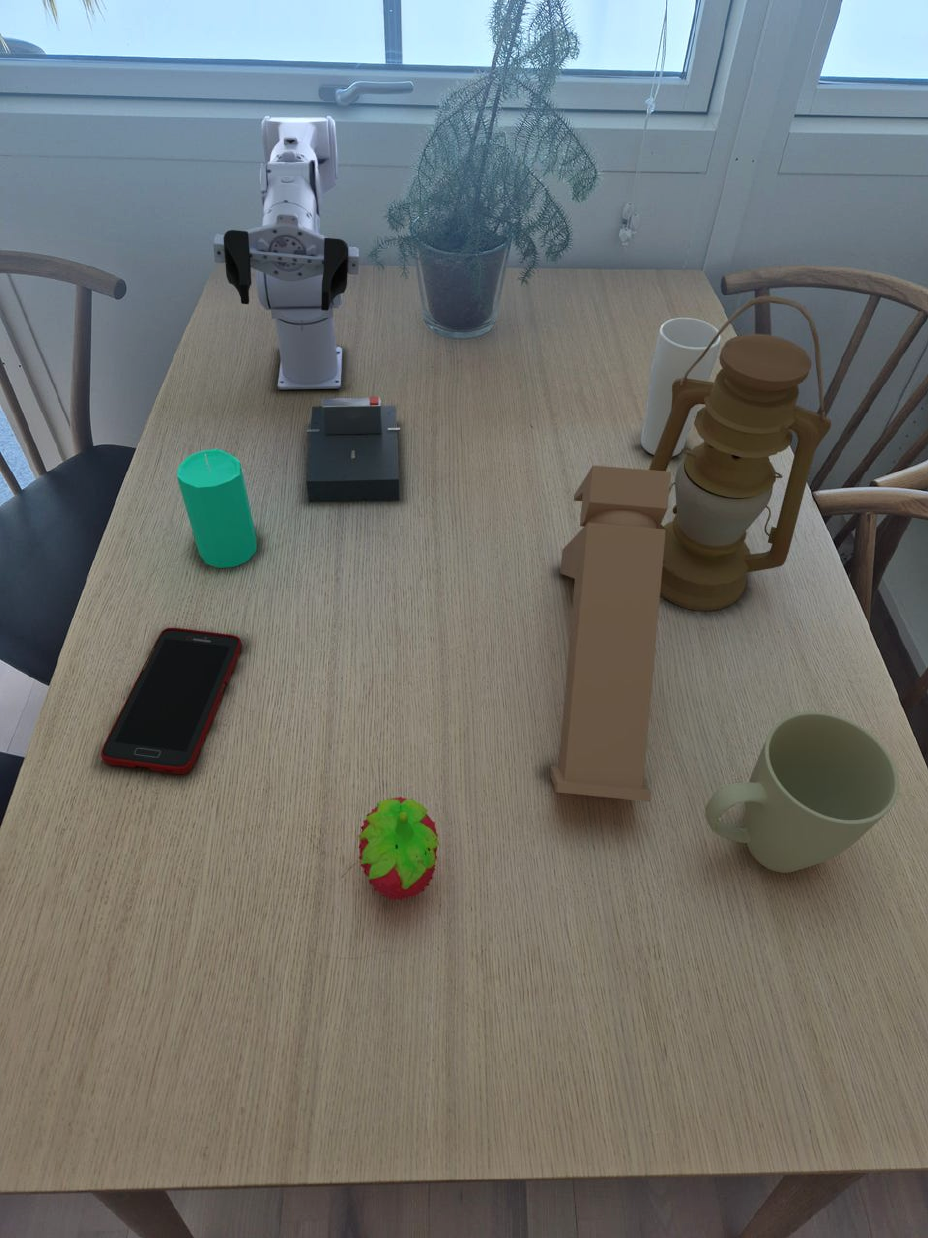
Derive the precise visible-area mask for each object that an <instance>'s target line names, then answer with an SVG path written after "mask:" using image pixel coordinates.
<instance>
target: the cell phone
mask: <svg viewBox="0 0 928 1238" xmlns="http://www.w3.org/2000/svg"><path fill="white" fill-rule="evenodd" d="M242 646H243V644H242V640H241V638H240V637H239V636H237V635H233V634H229V633H228V634H227V633H220V632H212V631H206V630H205V631H204V630H197V629H189V628H182V627H167V628H165V629H163V630H162V631H161V632H160V634H159V636H158V637H157V639H156V640H155V643H154V645H153V646H152V649H151V651H150V652H149V654H148V657H147V658H146V661H145V663H144V664H143V666H142V668H141V670H140V672H139V674H138V676H137V678H136V679H135V682H134V684H133V686H132V687H131V690H130V692H129V693H128V696H127V698H126V700H125V701H124V704H123V706H122V708H121V710H120V711H119V714H118V715H117V718H116V720H115V721H114V723H113V726H112V728H111V729H110V732H109V733H108V736H107V738H106V739H105V742H104V744H103V747H102V749H101V752H100V753H101V754H100V757H101V758H102V761H103V762H104V763H106V764H108V765H112V766H118V767H122V766H125V767H126V768H131V769H132V768H133V769H136V768H137V767H144V768H148V769H149V771H155V772H161V773H168V774H176V775H181V774H183V775H184V774H187V773H188V772H190V771H191V770H192V768H193V767H194V764H195V763H196V761H197V758H198V756H199V753H200V750H201V748H202V746H203V744H204V741H205V738H206V736H207V733H208V731H209V729H210V726H211V724H212V721H213V719H214V717H215V714H216V712H217V709H218V706H219V704H220V702H221V699H222V697H223V695H224V693H223V692H224V690H225V688H226V686H227V685H228V682H229V680H230V677H231V675H232V673H233V671H234V668H235V665H236V663H237V660H238V658H239V657H240V653H241V650H242Z"/></svg>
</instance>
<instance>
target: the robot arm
mask: <svg viewBox="0 0 928 1238" xmlns="http://www.w3.org/2000/svg"><path fill="white" fill-rule="evenodd" d="M261 139H262V149H263V154H264V160H265V164H263V163H262V162H261V163H260V169H259V184H260V185H259V187H260V195H261V204H262V209H263V210H262V218H261V226H257V227H253V228H249V229H244V230H236V229H230V230H227V231H226V232H225V233H224V234H214V238H213V245H212V246H213V255H214V256H213V257H214V262H215V263H217V264H218V263H220V264H225V276H226V280H227V281H228V284H231V285H233V286H234V288H235V289H236V291H237V293H238V294H239V298H240V304H242V305H249V304H250V288H251V286H252V269H254V270H255V283H256V290H257V296H258V301H259V304H260V305H261V306H262V307H263V309H264V310H266V311H270V312H271V318H272V319H274V322H275V329H276V335H277V343H278V349H279V355H280V364H279V373H278V379H277V388H278V389H279V390H331V389H333V390H335V389H337V390H338V389H340V388H341V387H342V367H343V348H342V347H340V346H337V341H336V331H335V320H334V309H339V308H340V306H341V305H342V304H343V294H344V293H345V292H346V290H347V287H348V274H349V275H358V274H359V262H360V255H359V254H360V252H359V247H355V246H351V245H350V246H349V245H348V243H347V242H346V241H345V240H343V239H341V238H333V237H332V238H331V237H327V236H325V235H323V234H321V233H320V218H321V216H322V210H323V209H322V206H323V199H324V195H325V193H327V192H328V191H330V190H331V189H333V188H334V187H336V184H337V183H336V182H337V179H338V164H339V160H338V145H337V144H338V143H337V129H336V121H335V120H334V119H333V118H332V116H330V115H327V116H326V117H270V115H266V116H264V118H263V120H262V121H261Z"/></svg>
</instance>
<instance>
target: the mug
mask: <svg viewBox="0 0 928 1238" xmlns="http://www.w3.org/2000/svg"><path fill="white" fill-rule="evenodd" d="M899 792H900V778H899V772H898V769H897V766H896V763H895V761H894V759H893V757H892V756H891V754H890V753H889V751H888V750H887V749H886V747H885V746H884V745H883V744H882V743H881V742H880V740H878V738H877V737H876V736H874V735H873V734H872V732H870V731H869V730H867V729H865V728H864V727H862V726H861V725H860V724H858V723H856V722H854V721H852V720H850V719H848V718H846V717H843V716H842V715H841V716H840V715H837V714H833V713H831V712H825V711H814V710H808V711H800V712H795V713H791V714H789V715H787V716H785V717H783V718H781V719H780V720H778V721H777V722H776V723H775V724H774V725H773V726H772V727H771V728H770V730H769V732H768V734H767V736H766V738H765V741H764V743H763V746H762V748H761V750H760V753H759V755H758V758H757V760H756V763H755V765H754V767H753V770H752V772H751V774H750V778H749V781H746V782H745V781H743V782H741V781H740V782H735V783H730V784H727V785H725V786H723V787H721V788H719V789H717V791H715V793H713V794H712V795H711V797H710V798H709V800H708V802H707V804H706V806H705V811H704V814H705V818H706V822H707V823H708V826H709V827H710V829H711V830H712V831H713V832H714V833H715V834H717V835H718V836H720V837H722V838H725V839H728V840H730V841H734V842H738V843H742V844H746V846H747V849H748V850H749V852H750V854H751V856H752V857H753V859H755V860H756V861H757V862H758V863H759V864H760V865H761V866H763V867H765V868H766V869H768V870H769V871H773V872H776V873H781V874H789V873H793V872H797V871H799V870H803V869H807V868H809V867H812V866H815V865H819V864H822V863H825V862H827V861H829V860H832V859H834V858H835V857H838V856H840V855H841V854H842V853H844V852H846V851H847V850H848V849H850V847H852V846H853V845H854V844H855V843H857V842H858V841H859V840H860V839H861V838H862V837H863V836H864V835H865V834H866V833H868V832H869V831H870V830H871V829H872V828H873V827H874V826H875V825H876V824H877V823H878V822H879V821H880V820H882V819H883V818H884V817H885V816H886V815H887V814H888V813H889V812H890V811H891V810H892V808H893V807H894V805H895V804H896V803H897V799H898V796H899ZM742 803H744V826H743V827H739V826H734V825H732V824H730V823H727V822H724V821H721V820H719V819H720V817H721V816H722V815H723V814H724V813H725V812H727V811H728V810H729V809H731V808H732V807H735V806H737V805H739V804H742Z"/></svg>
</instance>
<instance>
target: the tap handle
mask: <svg viewBox="0 0 928 1238" xmlns="http://www.w3.org/2000/svg"><path fill="white" fill-rule="evenodd" d="M321 400H322V402H321V406H322V411H323V420H324V429H325V434H326V435H330V434H381V433H382V421H381V406H382V403H381V402H382V401H381V398H380V397H379V396H369V397H354V398H353V397H352V398H351V397H349V398H348V397H347V398H346V397H345V398H344V397H343V398H342V397H341V398H322V399H321Z"/></svg>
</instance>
